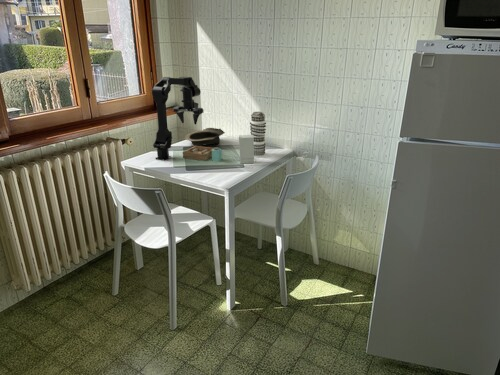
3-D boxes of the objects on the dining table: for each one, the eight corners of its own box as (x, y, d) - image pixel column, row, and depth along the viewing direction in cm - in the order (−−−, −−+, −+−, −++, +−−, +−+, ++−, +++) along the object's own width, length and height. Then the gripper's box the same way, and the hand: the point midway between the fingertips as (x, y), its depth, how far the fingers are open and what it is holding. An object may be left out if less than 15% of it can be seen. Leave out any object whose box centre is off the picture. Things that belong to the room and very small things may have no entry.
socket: (203, 156, 221) (202, 151, 220) (192, 155, 224) (191, 150, 223) (207, 154, 225) (207, 149, 224) (196, 153, 228) (196, 148, 227)
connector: (218, 161, 215) (218, 149, 212) (212, 160, 216) (211, 148, 214) (221, 159, 218) (221, 147, 216) (215, 158, 220) (215, 146, 217)
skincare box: (254, 160, 216) (253, 134, 211) (254, 163, 211) (254, 137, 205) (239, 160, 216) (238, 134, 211) (239, 163, 211) (238, 137, 205)
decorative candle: (263, 158, 220) (263, 114, 210) (248, 156, 222) (247, 113, 213) (267, 153, 228) (268, 111, 218) (253, 152, 230) (252, 110, 221)
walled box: (204, 160, 216) (203, 154, 215) (183, 157, 221) (182, 151, 220) (216, 153, 228) (215, 148, 227) (195, 151, 233) (195, 145, 232)
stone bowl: (231, 142, 251) (230, 128, 247) (208, 155, 232) (207, 140, 228) (201, 136, 263) (200, 123, 259) (177, 148, 244) (175, 134, 240)
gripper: (207, 97, 235) (208, 122, 241) (182, 95, 243) (184, 120, 249) (197, 100, 226) (199, 126, 232) (171, 98, 234) (173, 123, 239)
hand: (189, 123), depth 238 cm, fingers open, 9 cm apart
